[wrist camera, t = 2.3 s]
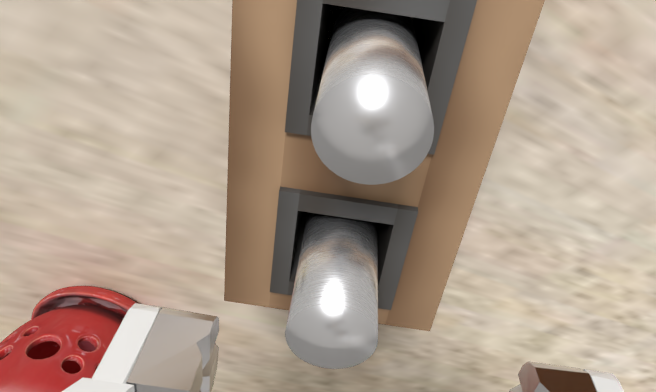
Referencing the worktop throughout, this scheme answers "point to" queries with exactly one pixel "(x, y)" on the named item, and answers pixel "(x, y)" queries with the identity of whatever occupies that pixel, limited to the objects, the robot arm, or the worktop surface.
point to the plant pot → (61, 339)
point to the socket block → (349, 197)
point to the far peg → (335, 293)
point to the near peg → (372, 99)
